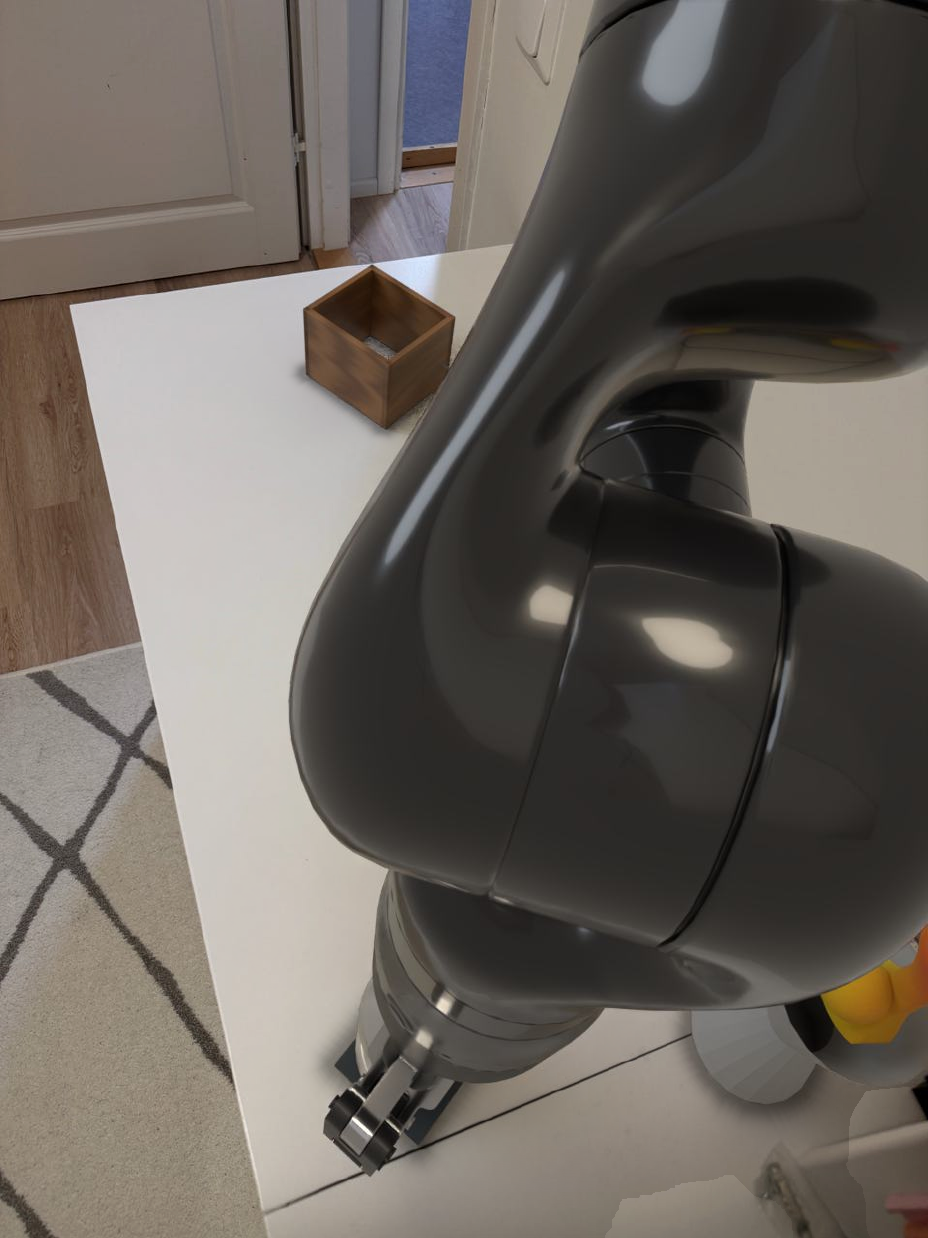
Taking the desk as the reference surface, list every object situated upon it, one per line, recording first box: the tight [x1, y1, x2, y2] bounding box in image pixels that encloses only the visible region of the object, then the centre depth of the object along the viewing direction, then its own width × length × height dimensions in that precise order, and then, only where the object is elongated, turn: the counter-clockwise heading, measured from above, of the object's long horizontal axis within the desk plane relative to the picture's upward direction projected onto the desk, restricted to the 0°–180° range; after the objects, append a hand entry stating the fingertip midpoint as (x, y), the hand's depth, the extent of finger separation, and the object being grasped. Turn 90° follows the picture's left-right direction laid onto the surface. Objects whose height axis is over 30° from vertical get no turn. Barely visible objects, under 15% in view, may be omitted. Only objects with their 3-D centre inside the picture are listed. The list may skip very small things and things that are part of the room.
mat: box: [334, 1038, 464, 1146], centre depth 57 cm, size 7×7×1 cm
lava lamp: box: [691, 925, 928, 1105], centre depth 46 cm, size 9×9×35 cm
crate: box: [302, 263, 456, 430], centre depth 87 cm, size 11×10×8 cm
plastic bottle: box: [355, 976, 408, 1094], centre depth 49 cm, size 6×7×20 cm
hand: (447, 1018), depth 42 cm, fingers open, 8 cm apart
